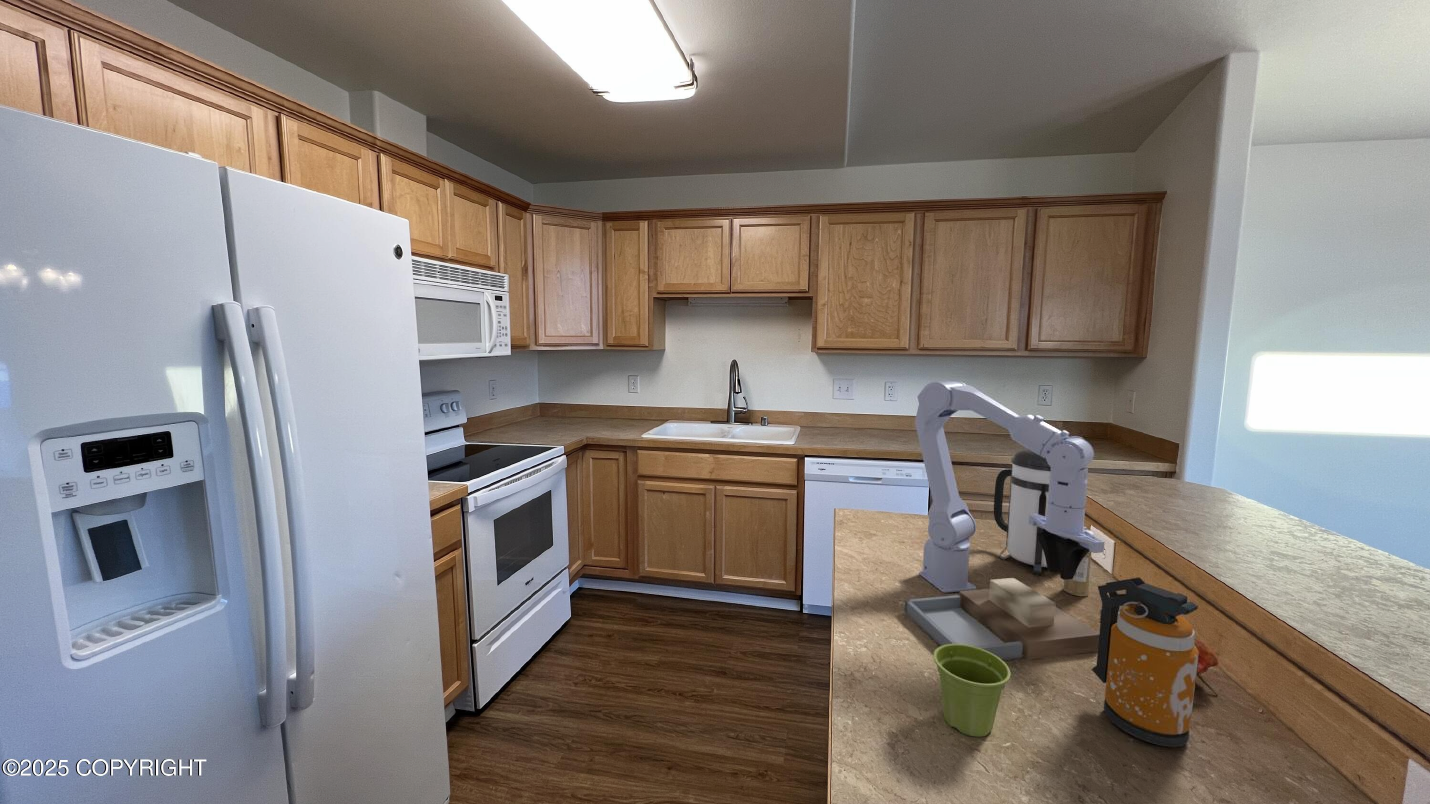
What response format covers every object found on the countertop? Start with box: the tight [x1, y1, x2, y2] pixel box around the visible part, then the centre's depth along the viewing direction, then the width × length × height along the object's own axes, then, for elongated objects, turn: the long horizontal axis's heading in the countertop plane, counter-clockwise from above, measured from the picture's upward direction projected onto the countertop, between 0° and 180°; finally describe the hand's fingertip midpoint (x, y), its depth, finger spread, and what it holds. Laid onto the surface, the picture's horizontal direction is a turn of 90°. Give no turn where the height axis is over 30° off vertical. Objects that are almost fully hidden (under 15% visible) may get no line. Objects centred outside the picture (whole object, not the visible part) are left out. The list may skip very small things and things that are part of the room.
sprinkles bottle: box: [1062, 529, 1095, 597], centre depth 109 cm, size 5×5×14 cm
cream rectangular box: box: [989, 577, 1056, 627], centre depth 95 cm, size 10×5×4 cm, turn 10°
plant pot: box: [933, 644, 1011, 738], centre depth 72 cm, size 9×9×9 cm
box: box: [904, 594, 1023, 661], centre depth 94 cm, size 17×11×2 cm
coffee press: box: [993, 448, 1051, 577], centre depth 123 cm, size 17×16×30 cm
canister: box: [1091, 576, 1199, 747], centre depth 71 cm, size 9×11×20 cm
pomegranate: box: [1194, 637, 1220, 697], centre depth 80 cm, size 7×7×10 cm
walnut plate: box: [958, 588, 1100, 660], centre depth 96 cm, size 18×14×3 cm
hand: (1060, 575), depth 96 cm, fingers open, 2 cm apart
